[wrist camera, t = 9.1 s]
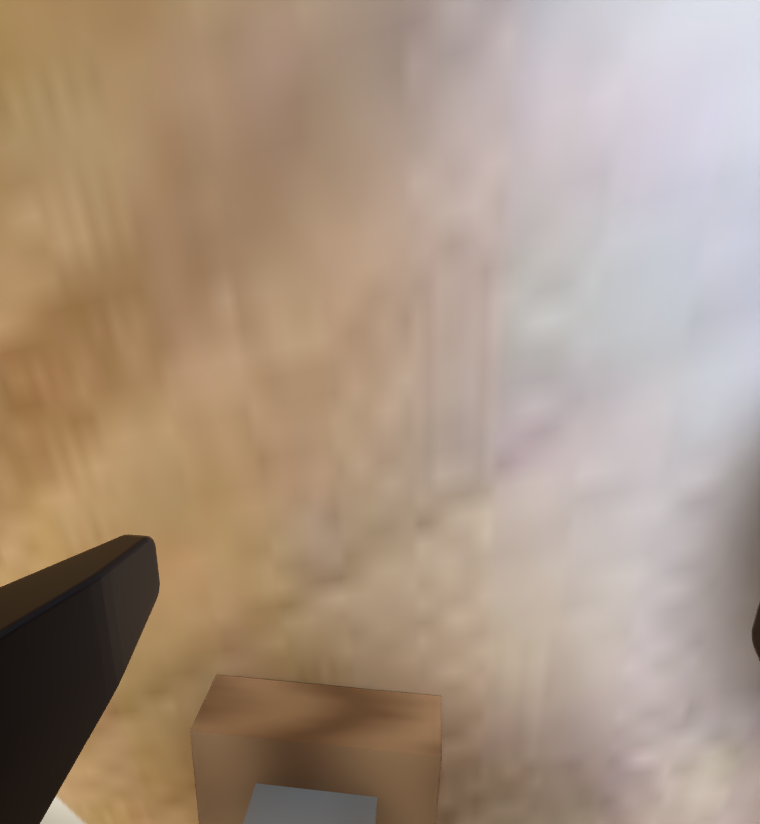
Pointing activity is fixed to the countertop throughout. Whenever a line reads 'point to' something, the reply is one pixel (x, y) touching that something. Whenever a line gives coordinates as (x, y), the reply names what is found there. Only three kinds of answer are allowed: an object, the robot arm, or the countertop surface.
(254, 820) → the blue-grey squarish block
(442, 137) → the countertop surface
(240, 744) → the base block
